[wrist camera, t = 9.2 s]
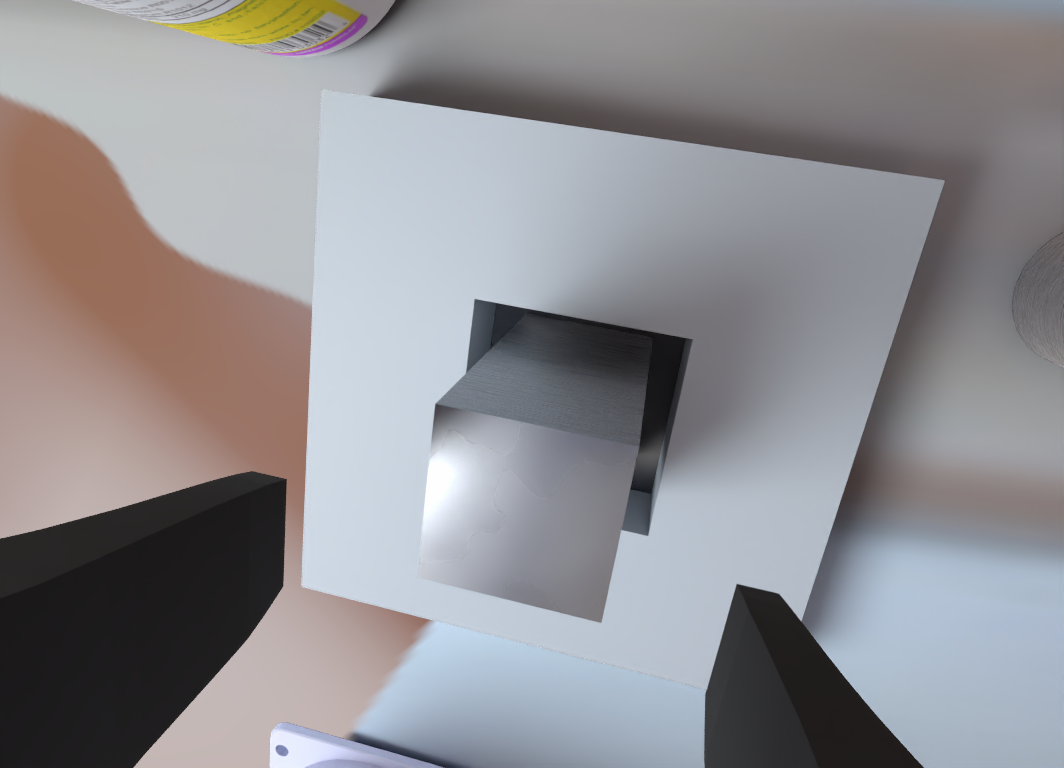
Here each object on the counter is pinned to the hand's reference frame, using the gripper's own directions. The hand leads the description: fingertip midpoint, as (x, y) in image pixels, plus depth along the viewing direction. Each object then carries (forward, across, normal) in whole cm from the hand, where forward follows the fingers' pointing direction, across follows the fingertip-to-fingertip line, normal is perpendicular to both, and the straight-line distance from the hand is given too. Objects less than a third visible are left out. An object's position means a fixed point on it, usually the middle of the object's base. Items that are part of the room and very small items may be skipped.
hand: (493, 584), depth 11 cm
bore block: (+10, 0, 0) cm, 10 cm away
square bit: (+10, 0, 0) cm, 10 cm away
